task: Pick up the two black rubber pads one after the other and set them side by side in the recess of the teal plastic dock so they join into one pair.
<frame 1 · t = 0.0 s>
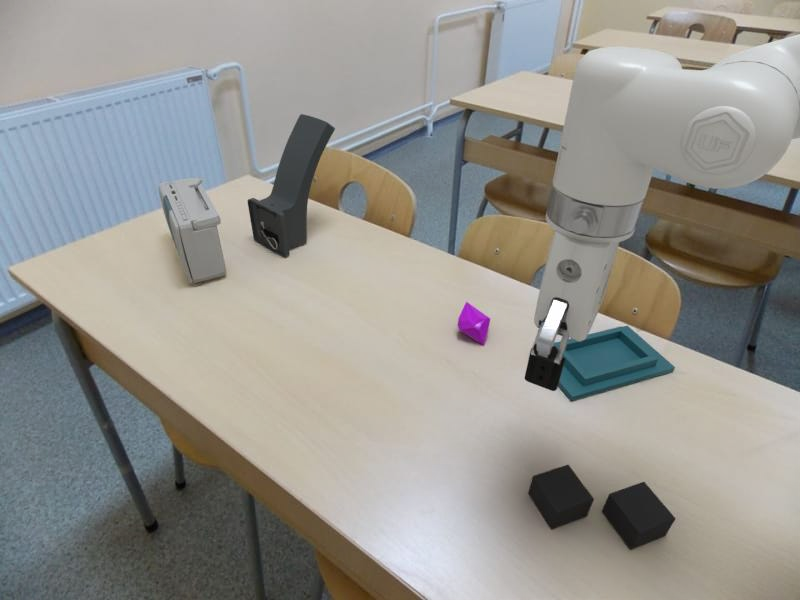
hand: (554, 355, 55), 19 cm above the table, tool pointing down, fingers open, 9 cm apart
pad b: (632, 523, 60), on the table
dock: (600, 362, 82), on the table
crystal: (473, 334, 88), on the table
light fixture: (299, 236, 114), on the table
radio: (200, 258, 106), on the table
pad a: (556, 504, 62), on the table
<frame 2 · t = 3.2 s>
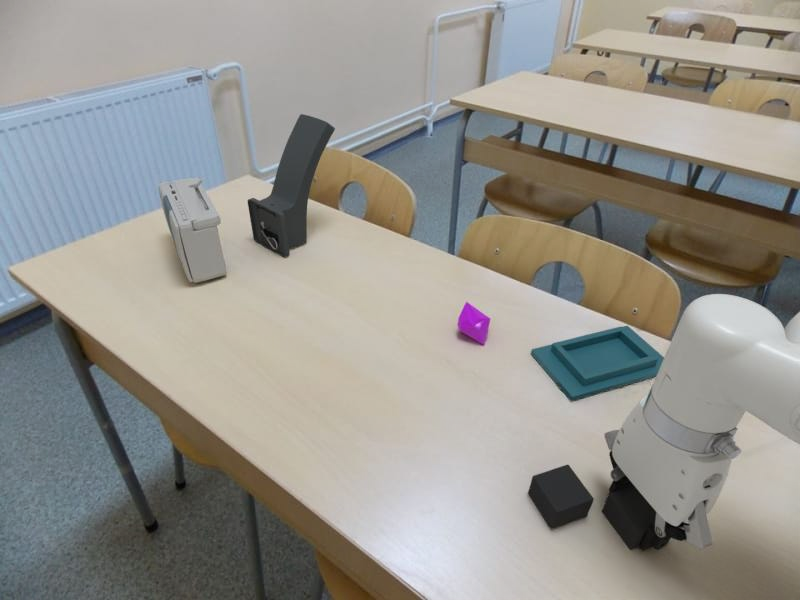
hand: (633, 521, 60), 0 cm above the table, tool pointing down, fingers closed on pad b, 5 cm apart
pad b: (632, 523, 60), on the table, touching gripper
everything else where it was.
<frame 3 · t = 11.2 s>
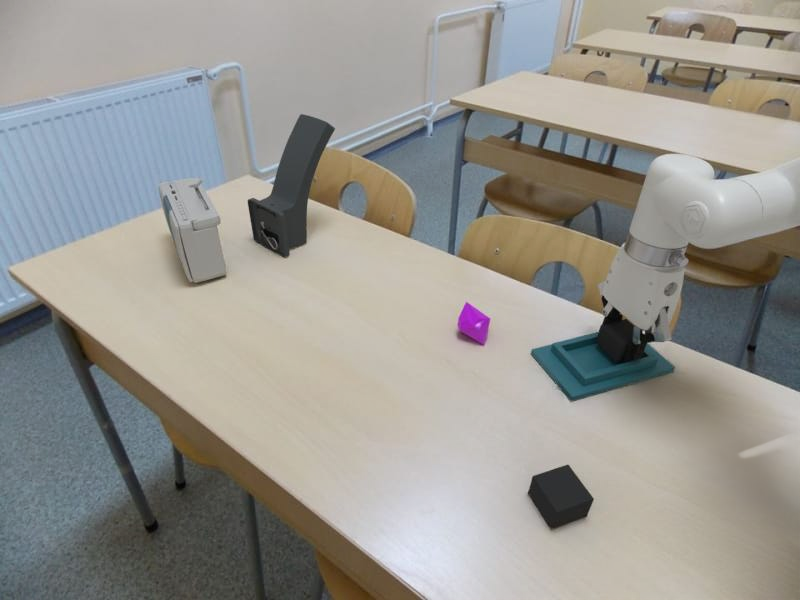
hand: (619, 346, 82), 3 cm above the table, tool pointing down, fingers closed on pad b, 4 cm apart
pad b: (618, 348, 82), point 2 cm above the table, touching gripper
everything else where it was.
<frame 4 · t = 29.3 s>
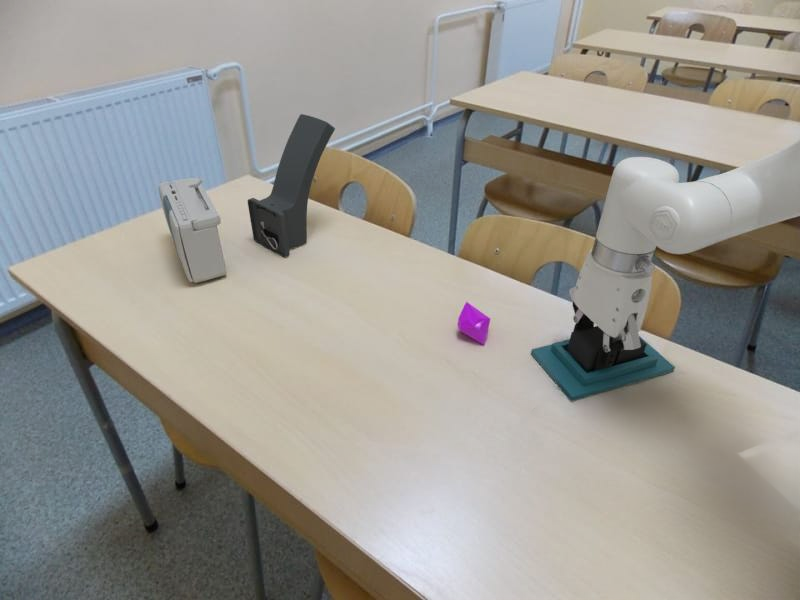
hand: (590, 353, 80), 3 cm above the table, tool pointing down, fingers closed on pad a, 5 cm apart
pad b: (616, 354, 82), point 1 cm above the table, touching dock
pad a: (590, 355, 80), point 2 cm above the table, touching gripper
everything else where it was.
when the fingers open (4 cm above the table, at t = 36.3 s): pad a drops 2 cm, resting on dock.
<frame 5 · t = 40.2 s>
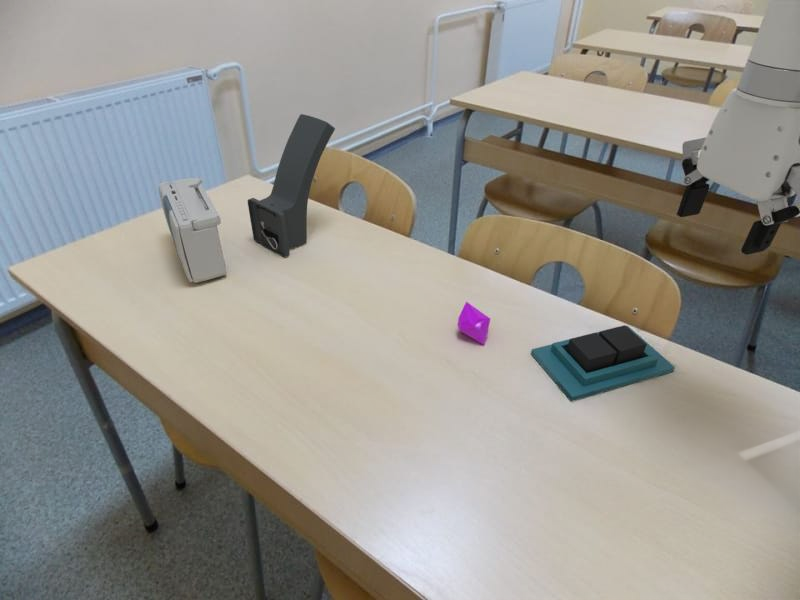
hand: (718, 232, 63), 26 cm above the table, tool pointing down, fingers open, 9 cm apart
pad a: (587, 362, 81), point 1 cm above the table, touching dock
everything else where it was.
at the end: pad b 0.3 cm from the target spot on the dock, point 1.0 cm above the dock's base; pad a 0.3 cm from the target spot on the dock, point 1.0 cm above the dock's base; pad a 5.6 cm from the pad b (horizontally) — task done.
